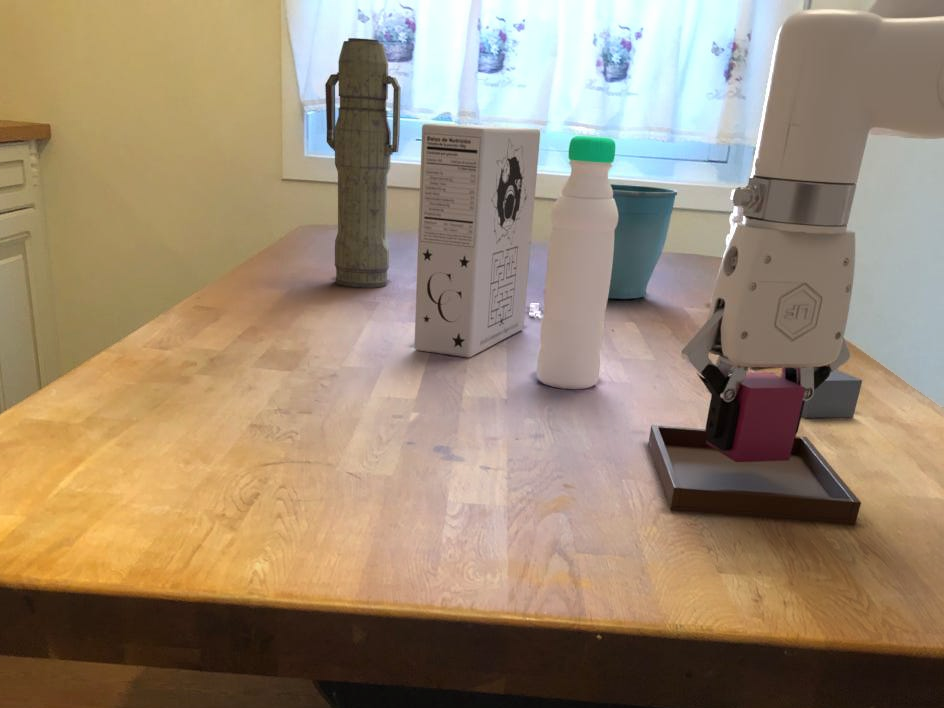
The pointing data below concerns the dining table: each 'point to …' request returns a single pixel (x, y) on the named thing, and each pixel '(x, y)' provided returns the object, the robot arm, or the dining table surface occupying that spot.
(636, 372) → the dining table surface
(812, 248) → the robot arm
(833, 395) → the base block
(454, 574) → the dining table surface
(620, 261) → the flower pot
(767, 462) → the tray
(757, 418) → the mulberry block
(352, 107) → the thermos
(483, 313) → the cereal box
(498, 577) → the dining table surface
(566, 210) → the water bottle
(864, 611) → the dining table surface
